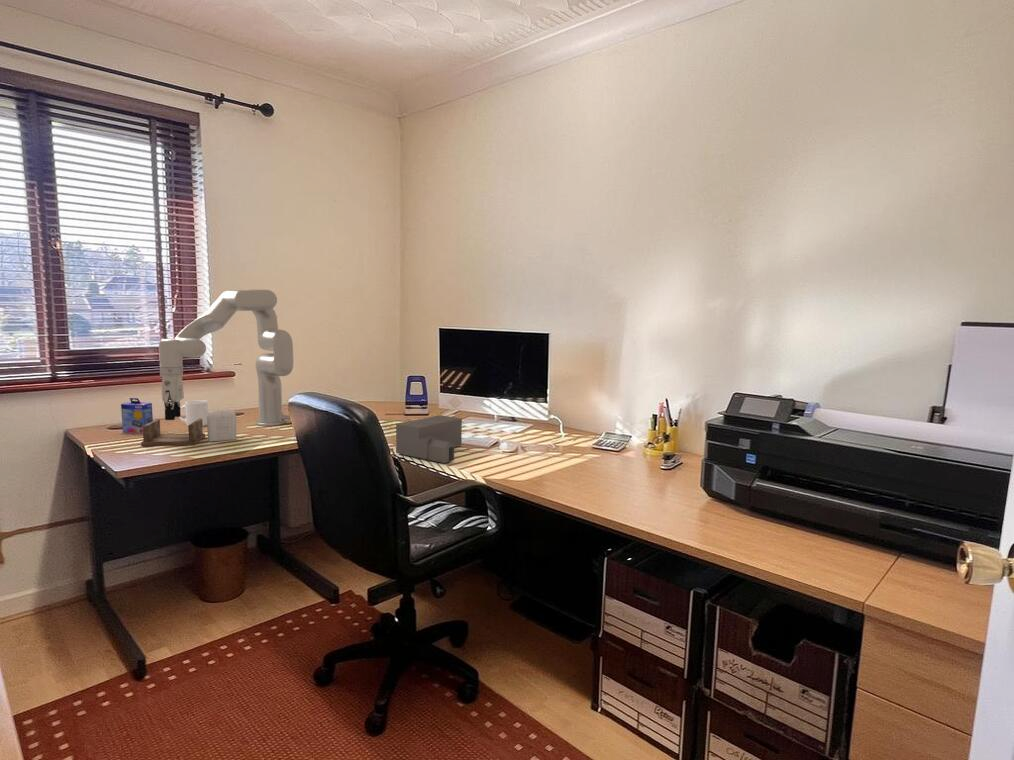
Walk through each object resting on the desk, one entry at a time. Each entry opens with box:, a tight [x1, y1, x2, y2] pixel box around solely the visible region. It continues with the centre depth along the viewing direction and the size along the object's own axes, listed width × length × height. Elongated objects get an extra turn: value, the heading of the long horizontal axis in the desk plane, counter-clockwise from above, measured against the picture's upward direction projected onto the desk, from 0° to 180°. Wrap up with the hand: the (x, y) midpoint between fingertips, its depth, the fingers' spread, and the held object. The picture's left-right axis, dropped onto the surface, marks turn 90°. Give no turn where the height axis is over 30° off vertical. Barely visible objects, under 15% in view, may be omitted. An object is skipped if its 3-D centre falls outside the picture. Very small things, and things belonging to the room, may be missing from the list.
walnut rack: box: [140, 418, 206, 447], centre depth 220 cm, size 14×18×8 cm
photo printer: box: [206, 408, 237, 443], centre depth 224 cm, size 10×4×12 cm, turn 125°
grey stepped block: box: [395, 414, 463, 464], centre depth 216 cm, size 25×23×11 cm
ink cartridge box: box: [120, 397, 154, 434], centre depth 233 cm, size 10×6×14 cm, turn 87°
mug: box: [178, 399, 209, 427], centre depth 249 cm, size 9×12×11 cm
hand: (173, 417), depth 219 cm, fingers open, 6 cm apart
